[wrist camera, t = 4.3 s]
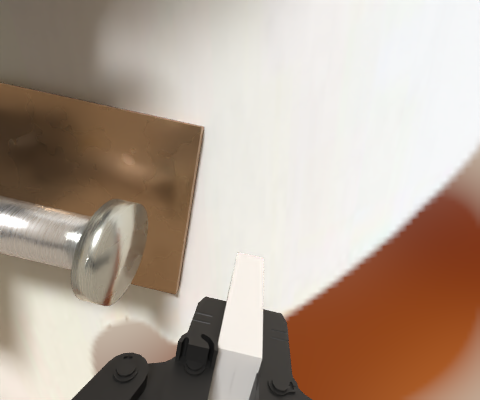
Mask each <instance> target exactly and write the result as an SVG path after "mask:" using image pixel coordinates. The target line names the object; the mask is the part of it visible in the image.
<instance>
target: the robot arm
mask: <svg viewBox="0 0 480 400" xmlns="http://www.w3.org/2000/svg"><path fill="white" fill-rule="evenodd" d="M263 288H264V258H262V257H258V256H253V255H249V254H245V253H240V252H237V257H236V261H235V266H234V270H233V274H232V279H231V283H230V288H229V292H228V297H227V301H222V300H218V299H214V298H209V297H205V298H203V299H202V300H201V301H200V302H199V303H198V306H197V308H196V311H195V314H194V317H193V320H192V322H191V325H190V328H189V330H188V332H187V333H185V334H184V335H182V336H181V338H180V339H179V341H178V345H177V351H176V357H174V358H172V359H171V360H168V361H166V362H161V363H151V364H147V361H146V360H145V358H143V357H142V356H141V355H139V354H135V353H124V354H121V355H118V356H116V357H114V358H113V359H112V360H110V361H109V362H108V363H107V364H106V365H105V366H104V367H103V368H102V369H101V370H100V371H99V372H98V373H97V374H96V375H95V376H94V377H93V378H92V379H91V380H90V381H89V382H88V383H87V384H86V385H85V386H84V387H83V388H82V389H81V390H80V391H79V393H78V394H77V395H76V396H75V397H74V398H73V399H72V400H312V399H310V398H309V397H307V396H306V395H305V394H303V392H302V391H300V389H299V388H298V386H297V383H296V381H295V380H294V378H293V376H292V369H291V359H290V349H289V343H288V341H289V340H288V329H287V322H286V321H285V319H284V317H283V315H282V314H281V313H276V312H272V311H268V310H264V309H263Z"/></svg>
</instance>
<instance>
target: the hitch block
mask: <svg viewBox="0 0 480 400" xmlns="http://www.w3.org/2000/svg"><path fill="white" fill-rule="evenodd" d="M203 131H204V127H203V126H198V125H194V124H189V123H185V122H180V121H175V120H171V119H166V118H162V117H157V116H152V115H148V114H143V113H139V112H134V111H129V110H125V109H120V108H116V107H111V106H106V105H102V104H97V103H93V102H88V101H83V100H79V99H74V98H70V97H65V96H60V95H56V94H51V93H47V92H42V91H37V90H33V89H28V88H24V87H19V86H14V85H10V84H5V83H1V82H0V196H4V197H8V198H12V199H17V200H21V201H26V202H30V203H34V204H39V205H43V206H47V207H52V208H56V209H60V210H65V211H69V212H74V213H78V214H82V215H87V216H91V217H92V216H93V215H94V213H95V212H96V211H97V210H98V209H99V208H100V207H101V206H102V205H103V204H104V203H106V202H108V201H110V200H112V199H121V200H125V201H130V202H134V203H139V204H142V205H143V206H144V208H145V209H146V212H147V217H148V233H147V240H146V245H145V249H144V252H143V256H142V259H141V262H140V265H139V267H138V269H137V272H136V274H135V276H134V278H133V280H132V282H131V284H134V285H138V286H142V287H146V288H151V289H155V290H159V291H163V292H168V293H172V294H176V293H177V291H178V289H179V283H180V277H181V270H182V264H183V258H184V251H185V245H186V239H187V232H188V226H189V220H190V213H191V207H192V201H193V194H194V188H195V182H196V175H197V169H198V163H199V156H200V150H201V144H202V137H203ZM31 261H32V260H31ZM48 265H49V264H48Z"/></svg>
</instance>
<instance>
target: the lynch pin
mask: <svg viewBox="0 0 480 400" xmlns="http://www.w3.org/2000/svg"><path fill="white" fill-rule="evenodd" d="M147 233H148V217H147V212H146V209H145V208H144V206H143V205H142V204H139V203H134V202H130V201H125V200H121V199H112V200H110V201H108V202H106V203H104V204H103V205H102V206H101V207H100V208H99V209H98V210H97V211H96V212H95V213H94V215H93V216H92V217H91V216H87V215H82V214H78V213H74V212H69V211H65V210H60V209H56V208H52V207H47V206H43V205H39V204H34V203H30V202H26V201H21V200H17V199H12V198H8V197H4V196H0V253H2V254H6V255H10V256H14V257H19V258H23V259H27V260H32V261H36V262H40V263H44V264H49V265H53V266H57V267H61V268H66V269H70V270H71V284H72V289H73V292H74V294H75V296H76V297H77V298H78V299H80V300H82V301H87V302H91V303H95V304H99V305H103V306H109V305H112V304H114V303H115V302H116V301H118V300H119V299H120V298H121V296H122V295H123V294H124V293H125V291H126V290H127V288H128V287H129V285H130V284H131V282H132V280H133V278H134V276H135V274H136V272H137V269H138V267H139V265H140V262H141V259H142V256H143V252H144V249H145V245H146V240H147Z"/></svg>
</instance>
